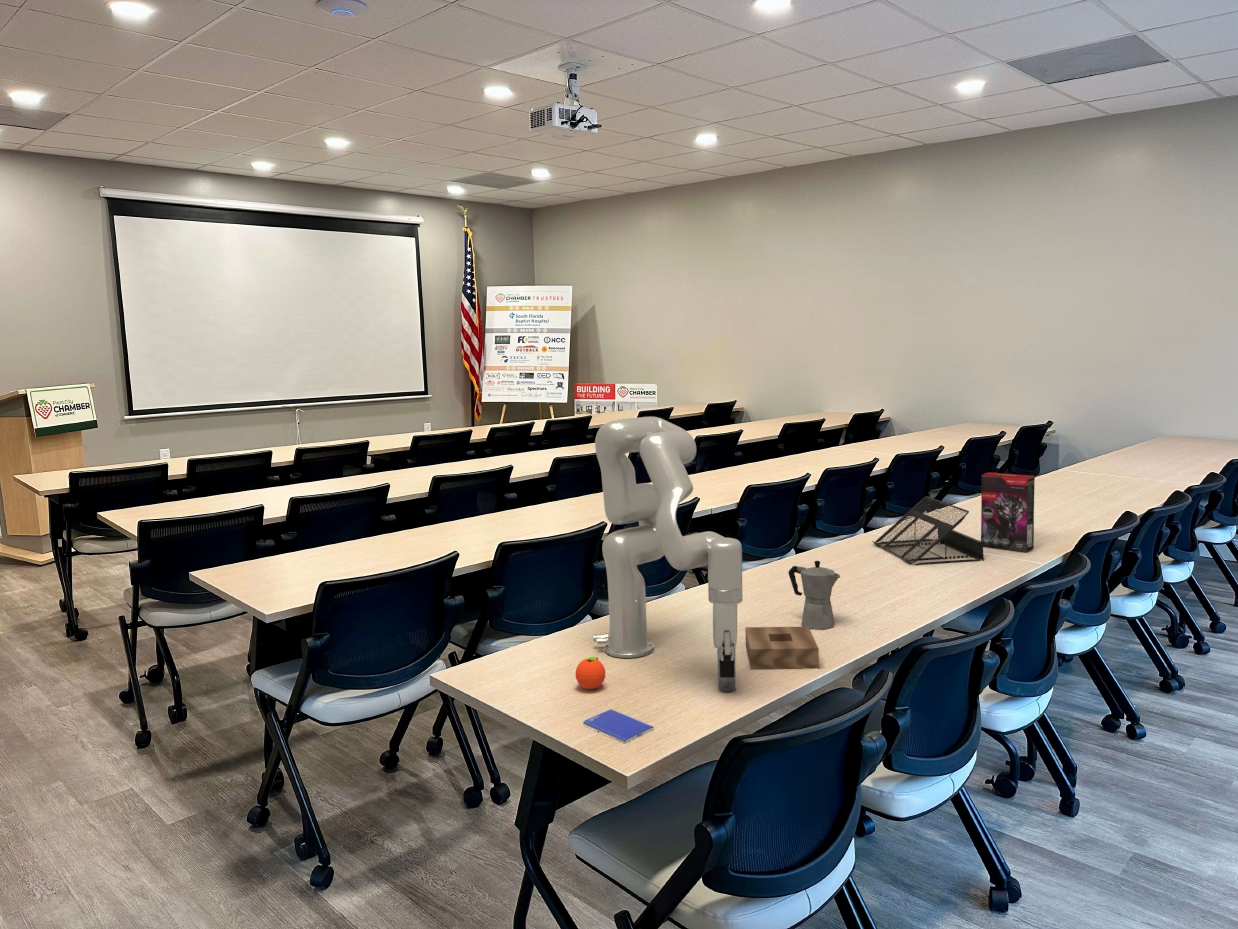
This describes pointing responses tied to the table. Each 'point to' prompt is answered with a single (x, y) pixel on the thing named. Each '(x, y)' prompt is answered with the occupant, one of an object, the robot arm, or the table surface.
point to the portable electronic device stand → (945, 536)
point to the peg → (726, 683)
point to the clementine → (590, 673)
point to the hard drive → (618, 726)
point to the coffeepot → (815, 595)
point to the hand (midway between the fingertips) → (726, 672)
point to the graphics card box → (1007, 511)
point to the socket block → (781, 648)
